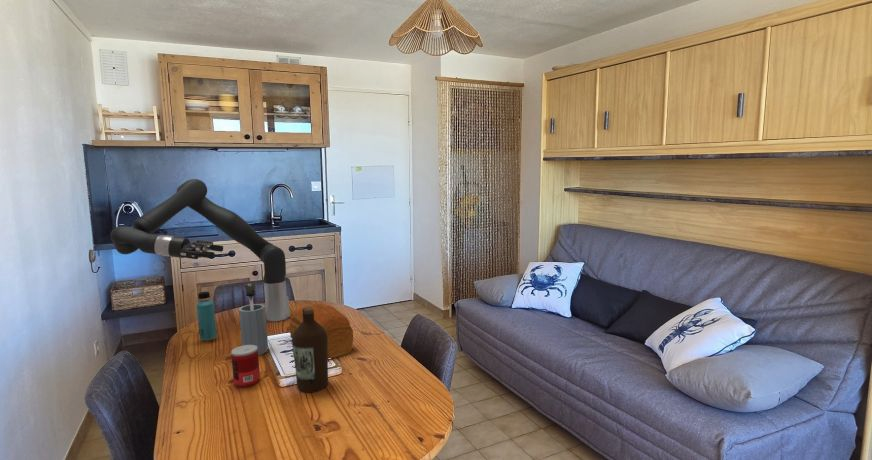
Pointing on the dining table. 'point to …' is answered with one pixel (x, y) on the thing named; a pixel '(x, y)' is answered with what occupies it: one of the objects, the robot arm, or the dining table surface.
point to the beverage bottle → (206, 317)
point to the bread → (329, 328)
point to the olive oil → (310, 354)
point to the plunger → (250, 293)
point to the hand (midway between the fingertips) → (218, 252)
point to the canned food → (245, 365)
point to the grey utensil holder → (254, 327)
